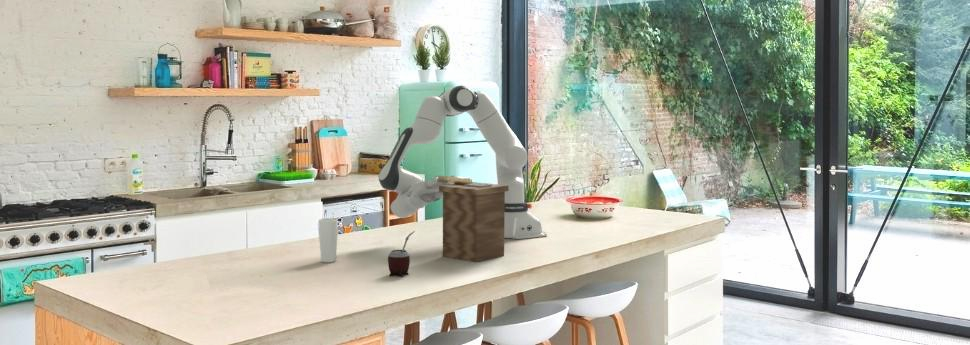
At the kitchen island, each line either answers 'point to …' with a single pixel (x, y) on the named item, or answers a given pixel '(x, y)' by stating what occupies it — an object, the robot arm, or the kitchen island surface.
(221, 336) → the kitchen island surface
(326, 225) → the drinking glass
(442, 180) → the brass handle with plate
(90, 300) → the kitchen island surface
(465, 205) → the lidded wooden box
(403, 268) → the mate gourd
